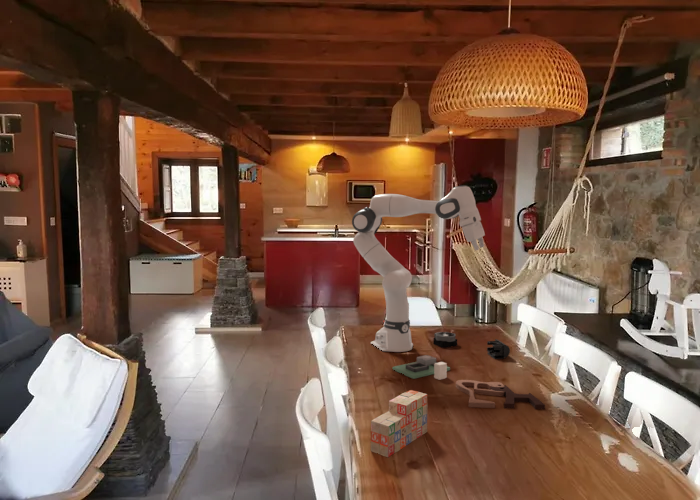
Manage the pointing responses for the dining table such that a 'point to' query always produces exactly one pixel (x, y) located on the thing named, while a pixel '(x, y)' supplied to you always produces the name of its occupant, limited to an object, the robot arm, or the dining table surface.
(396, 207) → the robot arm
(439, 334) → the cpu cooler
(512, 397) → the wood carving
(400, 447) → the stack of blocks
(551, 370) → the dining table surface
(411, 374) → the circuit board
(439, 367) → the plug
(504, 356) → the end cap
